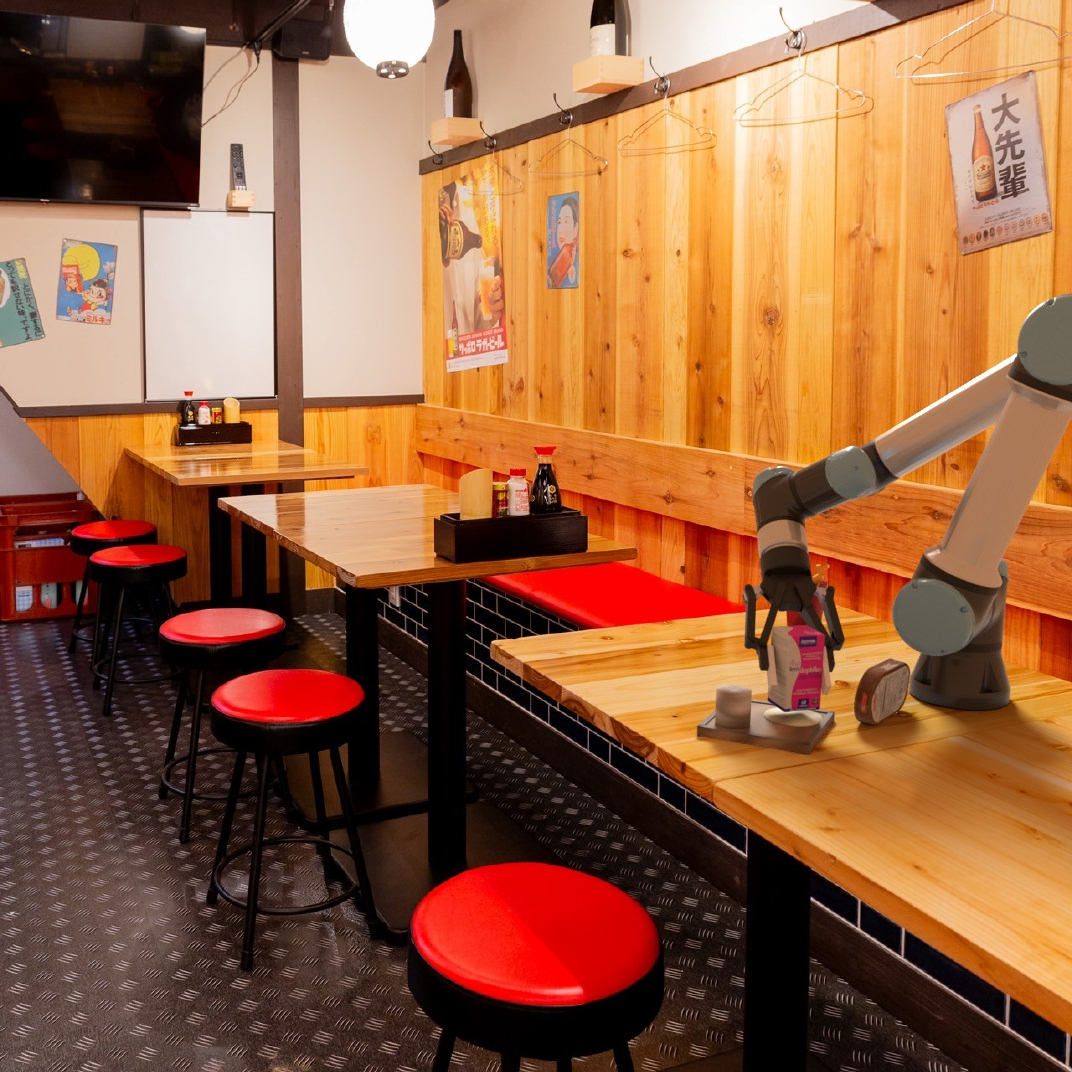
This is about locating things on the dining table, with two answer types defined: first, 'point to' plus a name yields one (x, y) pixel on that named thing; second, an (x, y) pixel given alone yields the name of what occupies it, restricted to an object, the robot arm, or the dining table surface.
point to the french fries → (795, 617)
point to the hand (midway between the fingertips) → (799, 689)
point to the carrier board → (763, 722)
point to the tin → (881, 691)
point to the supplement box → (797, 667)
